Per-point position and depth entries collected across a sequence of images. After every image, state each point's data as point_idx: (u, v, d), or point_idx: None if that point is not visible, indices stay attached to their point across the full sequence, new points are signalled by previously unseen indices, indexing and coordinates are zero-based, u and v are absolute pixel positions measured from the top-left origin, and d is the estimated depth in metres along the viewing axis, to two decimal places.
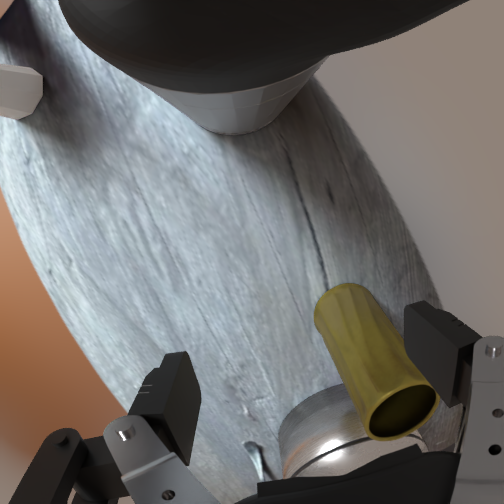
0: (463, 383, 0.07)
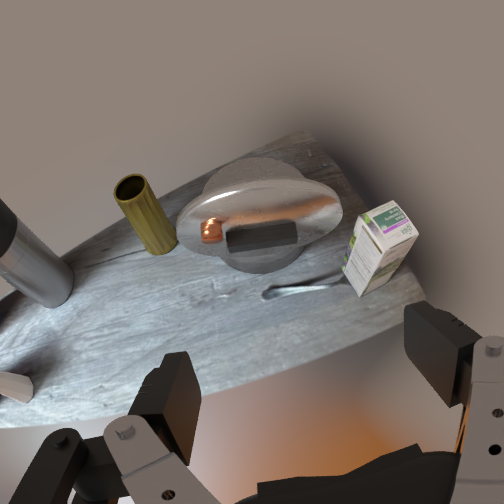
0: (463, 383, 0.07)
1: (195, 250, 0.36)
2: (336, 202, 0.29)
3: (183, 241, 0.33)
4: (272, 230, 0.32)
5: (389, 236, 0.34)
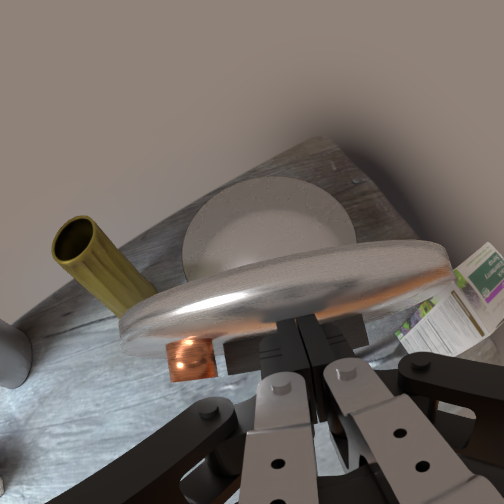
0: (324, 401, 0.08)
1: None
2: (453, 278, 0.12)
3: (144, 356, 0.16)
4: None
5: (494, 306, 0.17)
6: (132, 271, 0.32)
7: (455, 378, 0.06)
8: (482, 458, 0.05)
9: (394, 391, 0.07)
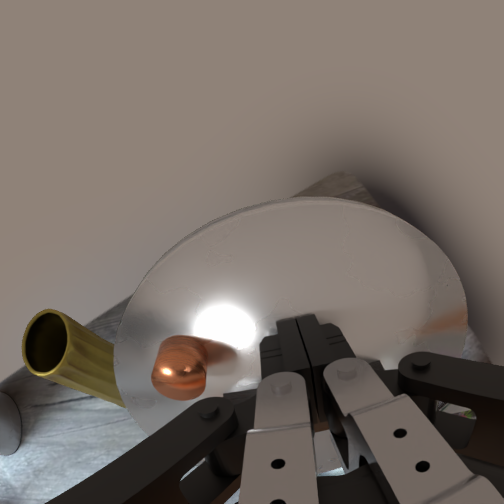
0: (324, 401, 0.08)
1: None
2: (456, 275, 0.12)
3: (137, 413, 0.14)
4: None
5: None
6: None
7: (455, 378, 0.06)
8: (482, 458, 0.05)
9: (394, 391, 0.07)
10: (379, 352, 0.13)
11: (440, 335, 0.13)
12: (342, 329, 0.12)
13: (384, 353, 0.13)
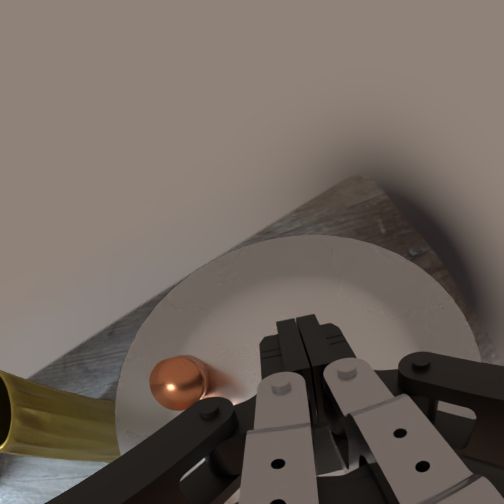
0: (324, 401, 0.08)
1: None
2: (449, 297, 0.12)
3: None
4: None
5: None
6: (91, 423, 0.18)
7: (455, 378, 0.06)
8: (482, 458, 0.05)
9: (394, 391, 0.07)
10: None
11: None
12: None
13: None
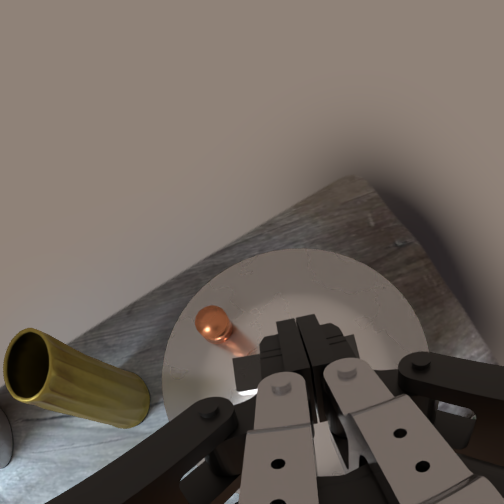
0: (324, 401, 0.08)
1: None
2: (388, 282, 0.20)
3: (168, 385, 0.19)
4: None
5: None
6: (113, 384, 0.23)
7: (455, 378, 0.06)
8: (482, 458, 0.05)
9: (394, 391, 0.07)
10: (347, 334, 0.19)
11: (395, 325, 0.19)
12: (315, 314, 0.20)
13: None
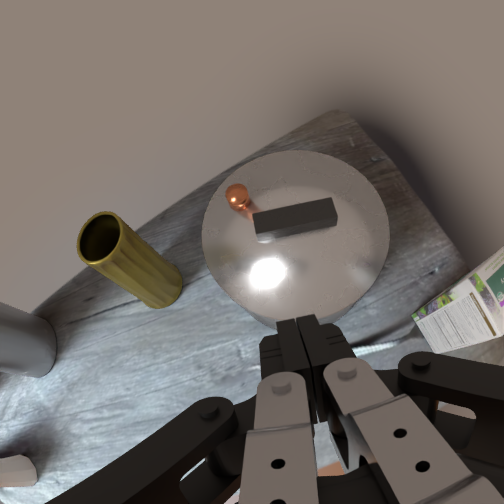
0: (324, 401, 0.08)
1: (216, 273, 0.28)
2: (356, 170, 0.30)
3: (206, 241, 0.29)
4: None
5: None
6: (158, 259, 0.33)
7: (455, 378, 0.06)
8: (482, 458, 0.05)
9: (394, 391, 0.07)
10: None
11: (362, 197, 0.28)
12: (306, 189, 0.30)
13: None
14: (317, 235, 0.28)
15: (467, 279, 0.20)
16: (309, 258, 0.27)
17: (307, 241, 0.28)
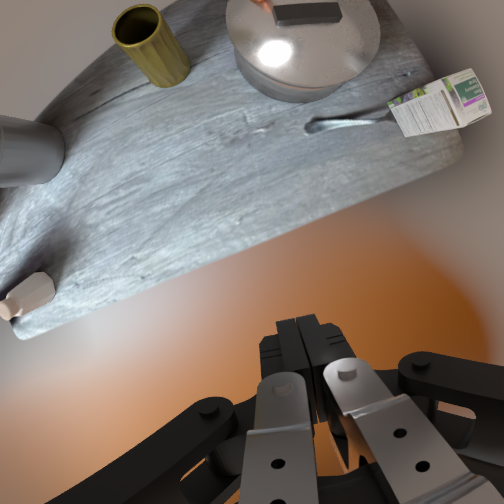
0: (324, 401, 0.08)
1: (241, 48, 0.28)
2: None
3: (230, 25, 0.27)
4: None
5: (468, 110, 0.25)
6: (177, 43, 0.31)
7: (455, 378, 0.06)
8: (482, 458, 0.05)
9: (394, 391, 0.07)
10: None
11: (359, 6, 0.27)
12: None
13: None
14: (324, 27, 0.27)
15: (440, 80, 0.25)
16: (318, 42, 0.28)
17: (316, 30, 0.28)
